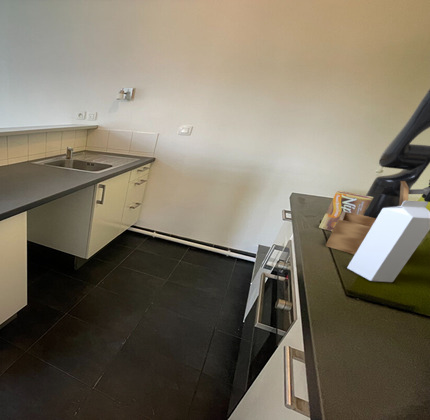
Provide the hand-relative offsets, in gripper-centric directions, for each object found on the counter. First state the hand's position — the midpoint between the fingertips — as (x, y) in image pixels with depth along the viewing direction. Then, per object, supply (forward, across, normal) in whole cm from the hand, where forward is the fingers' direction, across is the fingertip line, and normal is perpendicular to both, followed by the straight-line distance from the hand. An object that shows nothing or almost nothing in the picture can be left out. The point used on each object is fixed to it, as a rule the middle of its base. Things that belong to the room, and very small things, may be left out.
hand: (428, 199), depth 70 cm
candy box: (+20, +14, +13) cm, 28 cm away
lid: (+3, 0, +4) cm, 5 cm away
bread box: (+20, 0, +7) cm, 21 cm away
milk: (+20, -21, +4) cm, 29 cm away
